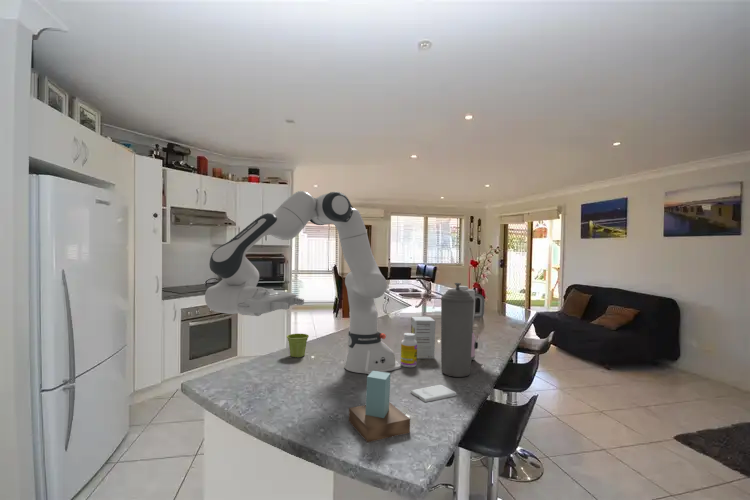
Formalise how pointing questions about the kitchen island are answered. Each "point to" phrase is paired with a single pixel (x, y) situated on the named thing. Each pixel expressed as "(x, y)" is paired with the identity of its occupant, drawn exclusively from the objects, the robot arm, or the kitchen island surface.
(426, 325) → the supplement box
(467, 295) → the canister
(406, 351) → the supplement bottle
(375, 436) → the walnut block
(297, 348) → the plant pot
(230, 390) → the kitchen island surface
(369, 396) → the teal block
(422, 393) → the external hard drive
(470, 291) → the blender
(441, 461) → the kitchen island surface
